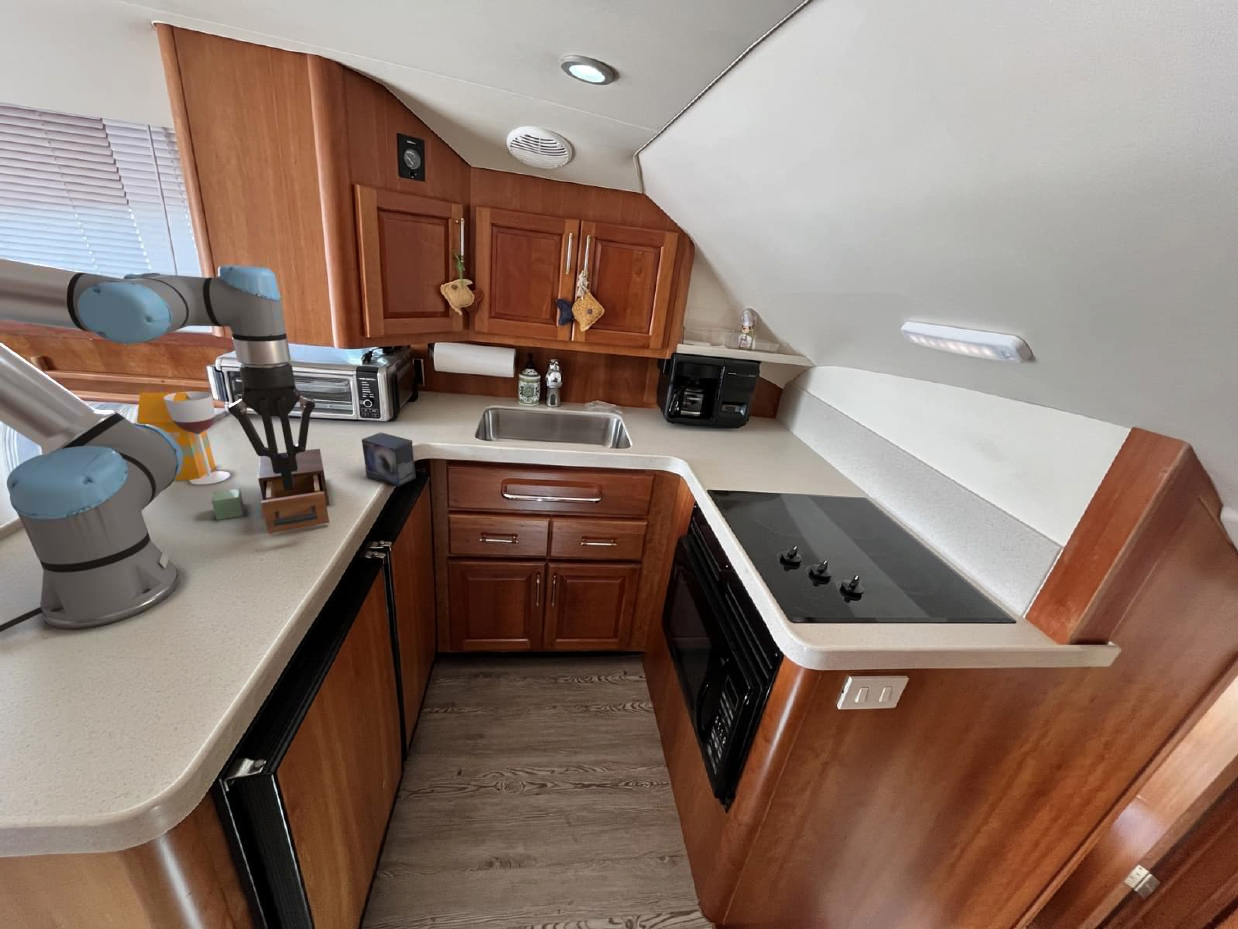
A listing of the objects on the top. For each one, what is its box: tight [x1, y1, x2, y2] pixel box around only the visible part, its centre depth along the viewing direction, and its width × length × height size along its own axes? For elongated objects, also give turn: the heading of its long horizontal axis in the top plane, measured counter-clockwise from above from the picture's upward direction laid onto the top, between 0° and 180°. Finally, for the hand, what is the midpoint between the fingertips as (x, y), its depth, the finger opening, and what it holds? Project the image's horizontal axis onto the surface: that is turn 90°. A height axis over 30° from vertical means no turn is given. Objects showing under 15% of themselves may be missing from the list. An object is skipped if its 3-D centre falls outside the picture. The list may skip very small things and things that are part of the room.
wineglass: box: [164, 390, 231, 485], centre depth 113 cm, size 8×9×20 cm
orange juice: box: [136, 392, 216, 482], centre depth 113 cm, size 8×9×20 cm
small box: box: [361, 431, 417, 487], centre depth 122 cm, size 11×6×10 cm, turn 68°
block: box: [211, 488, 245, 521], centre depth 102 cm, size 4×4×4 cm
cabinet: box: [257, 448, 330, 507], centre depth 110 cm, size 14×12×9 cm
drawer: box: [260, 474, 330, 535], centre depth 100 cm, size 17×10×7 cm, turn 32°
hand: (289, 487), depth 93 cm, fingers closed
